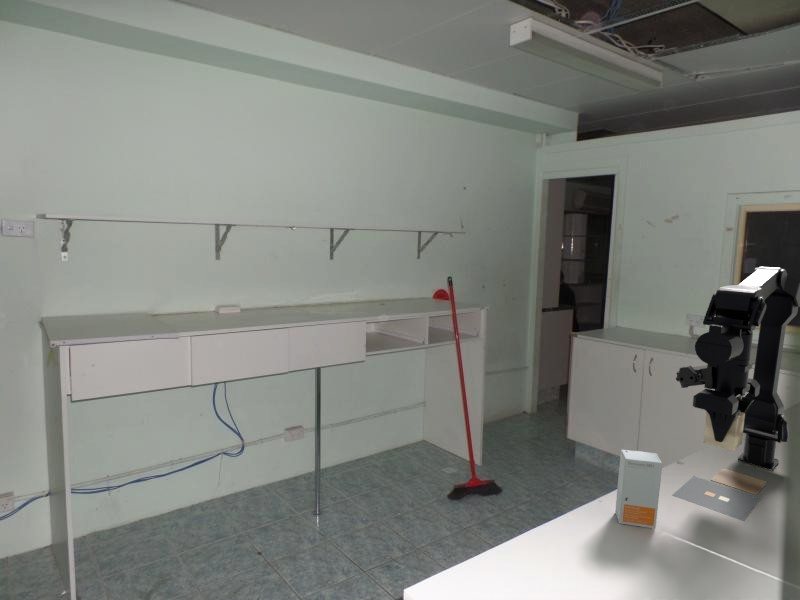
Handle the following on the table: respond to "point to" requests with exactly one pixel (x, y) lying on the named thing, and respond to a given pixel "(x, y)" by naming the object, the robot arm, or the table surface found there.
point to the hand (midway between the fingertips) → (723, 437)
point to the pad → (739, 481)
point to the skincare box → (638, 488)
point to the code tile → (718, 497)
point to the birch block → (733, 435)
